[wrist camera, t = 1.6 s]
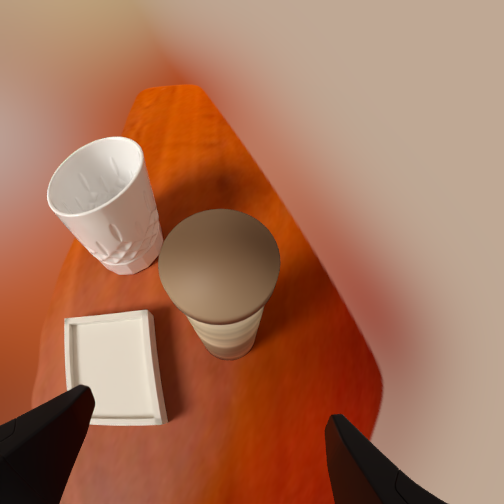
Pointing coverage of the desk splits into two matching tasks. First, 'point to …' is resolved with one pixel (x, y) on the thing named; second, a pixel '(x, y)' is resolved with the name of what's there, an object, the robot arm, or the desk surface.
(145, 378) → the tray
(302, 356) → the desk surface
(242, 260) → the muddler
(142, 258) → the white cup
